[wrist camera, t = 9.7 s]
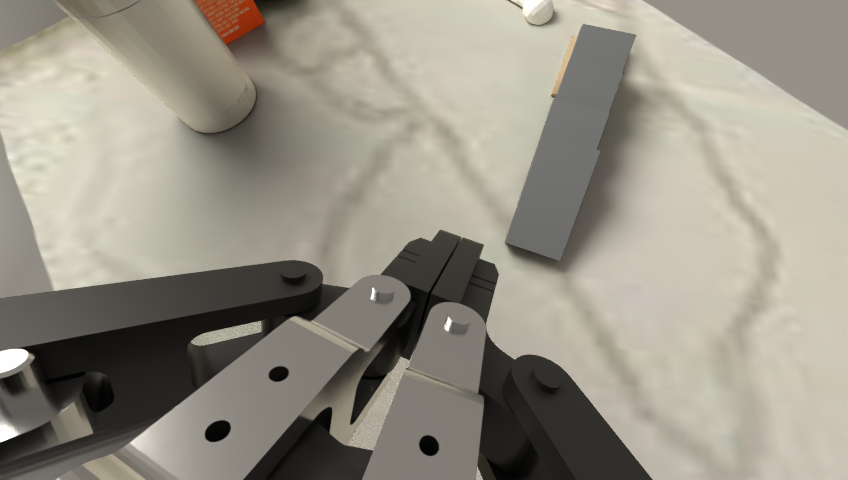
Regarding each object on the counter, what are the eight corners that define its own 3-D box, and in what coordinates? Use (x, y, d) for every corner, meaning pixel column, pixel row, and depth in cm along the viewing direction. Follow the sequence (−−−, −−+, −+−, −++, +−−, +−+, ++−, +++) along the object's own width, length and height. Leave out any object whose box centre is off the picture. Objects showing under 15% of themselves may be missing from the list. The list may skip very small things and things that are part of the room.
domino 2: (532, 163, 34) (568, 60, 33) (531, 165, 35) (566, 68, 34) (584, 177, 33) (623, 72, 32) (580, 179, 34) (618, 79, 33)
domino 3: (518, 203, 33) (553, 99, 32) (517, 204, 34) (551, 105, 33) (571, 219, 31) (610, 111, 31) (568, 219, 33) (604, 118, 32)
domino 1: (546, 124, 35) (583, 23, 34) (544, 128, 37) (579, 32, 35) (596, 137, 34) (636, 34, 33) (592, 141, 35) (630, 43, 34)
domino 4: (504, 242, 31) (542, 135, 30) (504, 242, 33) (540, 140, 32) (560, 261, 30) (600, 151, 29) (557, 259, 32) (595, 155, 31)
